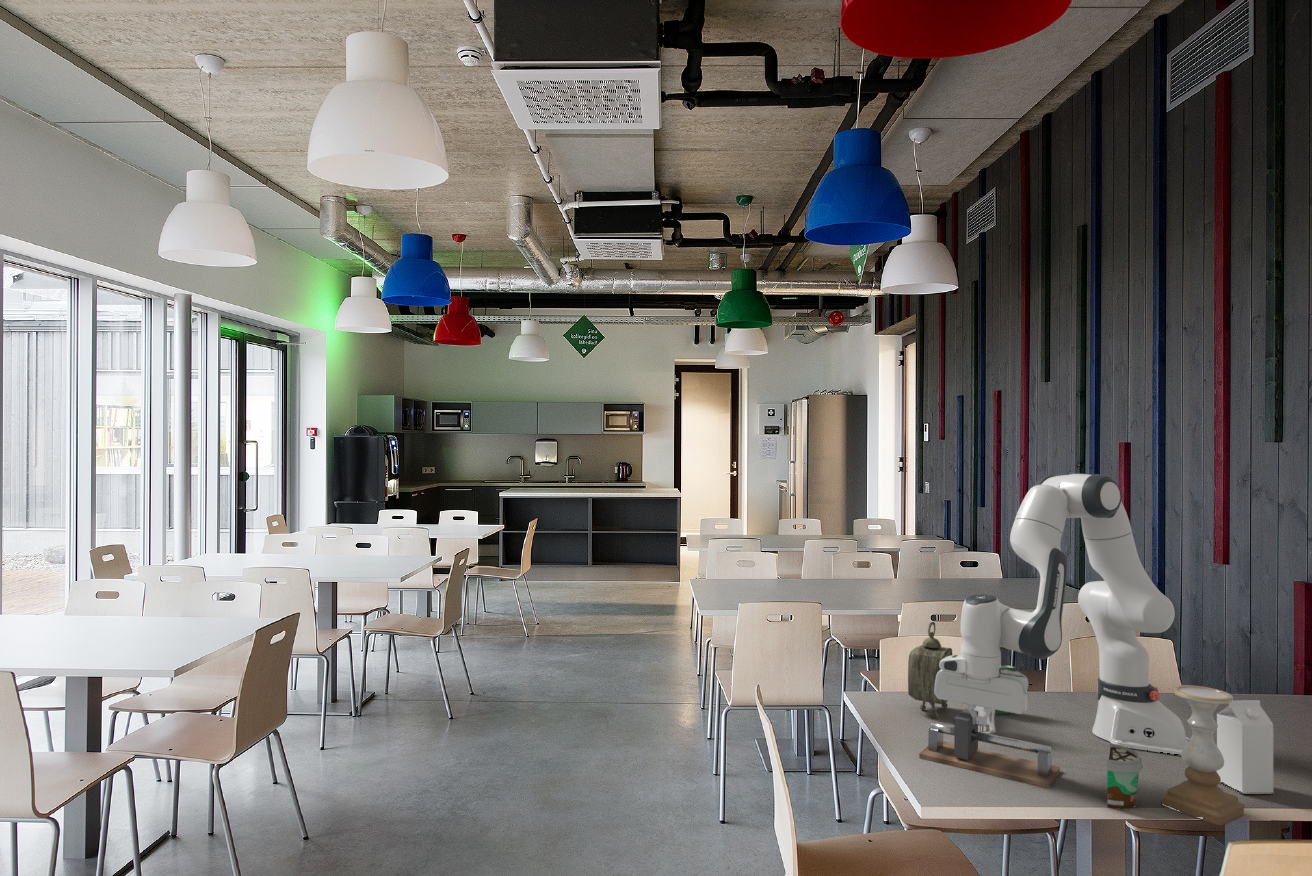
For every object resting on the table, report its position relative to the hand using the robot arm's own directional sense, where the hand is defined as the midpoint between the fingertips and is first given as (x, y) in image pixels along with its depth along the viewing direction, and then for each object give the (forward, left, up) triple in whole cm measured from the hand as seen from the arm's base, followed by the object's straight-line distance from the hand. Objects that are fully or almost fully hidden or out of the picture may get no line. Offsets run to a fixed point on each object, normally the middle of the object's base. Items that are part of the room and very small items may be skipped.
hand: (979, 725), depth 187 cm
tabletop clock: (+21, -31, -9) cm, 39 cm away
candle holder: (-43, -2, -9) cm, 44 cm away
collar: (+3, 0, -7) cm, 8 cm away
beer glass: (+5, -24, -9) cm, 26 cm away
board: (-2, 0, -9) cm, 9 cm away
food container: (-30, +4, -9) cm, 31 cm away
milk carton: (-50, -21, -9) cm, 55 cm away
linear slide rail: (-2, 0, -9) cm, 9 cm away
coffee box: (+5, -42, -9) cm, 43 cm away
